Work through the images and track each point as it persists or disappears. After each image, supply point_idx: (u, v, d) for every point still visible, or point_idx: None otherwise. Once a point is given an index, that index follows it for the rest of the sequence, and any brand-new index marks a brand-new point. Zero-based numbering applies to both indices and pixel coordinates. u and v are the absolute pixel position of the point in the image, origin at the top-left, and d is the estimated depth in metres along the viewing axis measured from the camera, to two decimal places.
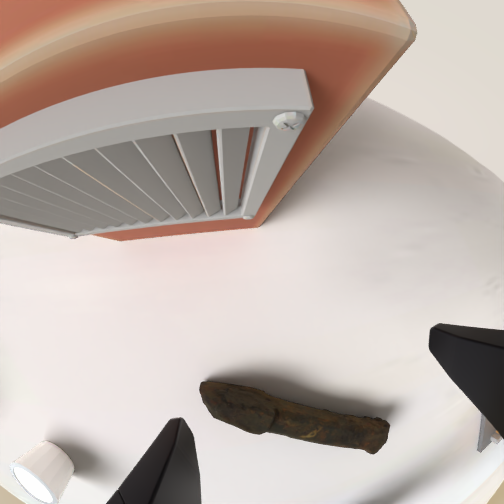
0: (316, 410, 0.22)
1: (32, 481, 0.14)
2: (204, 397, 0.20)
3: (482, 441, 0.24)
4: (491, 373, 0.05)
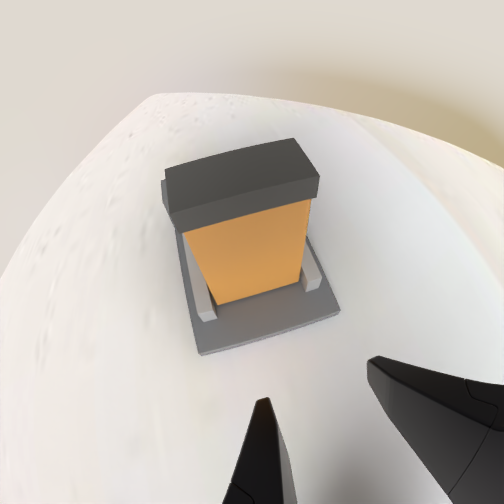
0: None
1: None
2: None
3: (305, 321, 0.22)
4: (426, 423, 0.05)
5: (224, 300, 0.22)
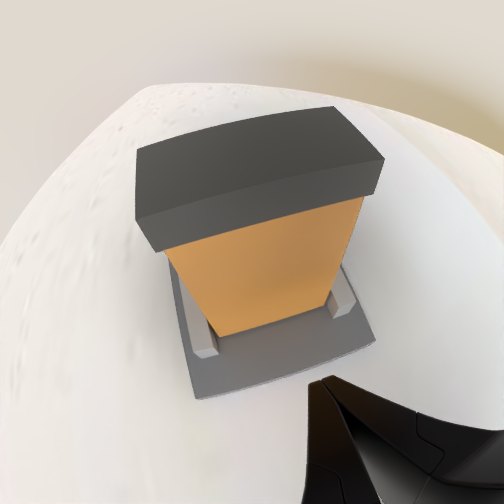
0: None
1: None
2: None
3: (332, 356, 0.16)
4: (372, 454, 0.05)
5: (228, 332, 0.17)
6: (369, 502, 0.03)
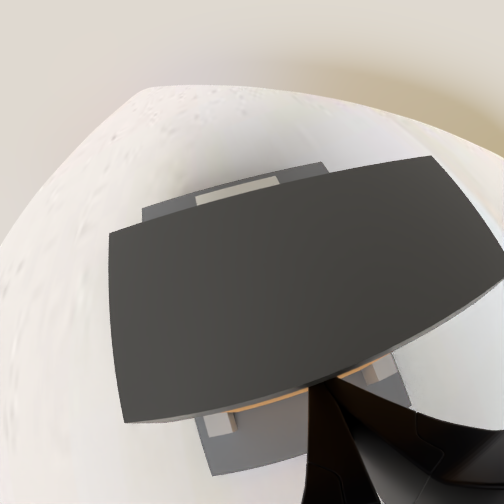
0: None
1: None
2: None
3: None
4: (371, 454, 0.05)
5: (248, 408, 0.13)
6: (369, 502, 0.03)
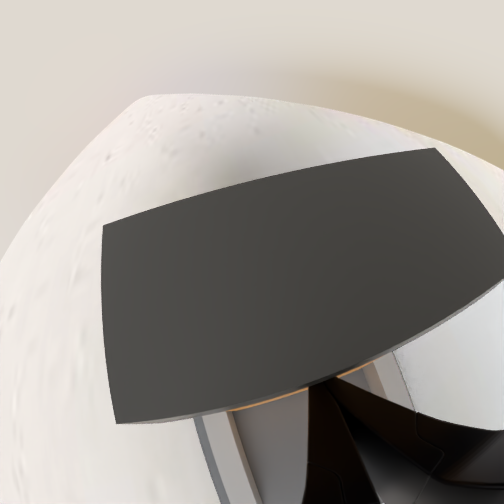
0: None
1: None
2: None
3: None
4: (372, 454, 0.05)
5: (248, 407, 0.13)
6: (369, 502, 0.03)
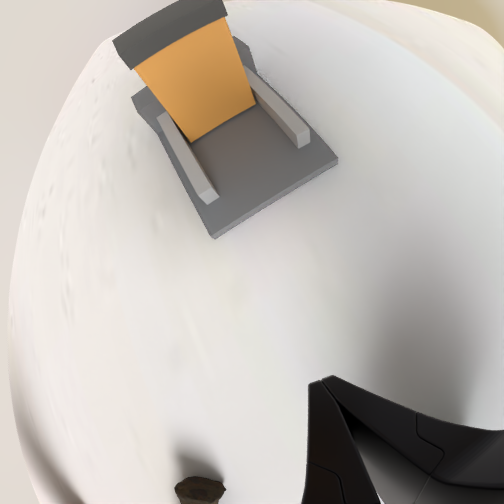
0: None
1: None
2: None
3: (305, 175, 0.21)
4: (372, 454, 0.05)
5: (195, 135, 0.23)
6: (369, 502, 0.03)
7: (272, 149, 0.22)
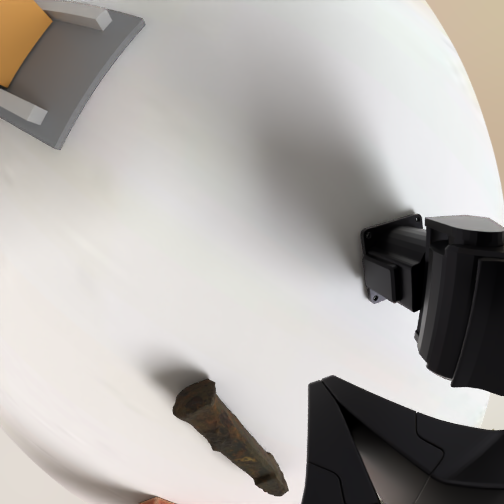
0: None
1: None
2: None
3: (117, 47, 0.15)
4: (371, 454, 0.05)
5: (8, 79, 0.12)
6: (369, 502, 0.03)
7: (79, 45, 0.14)
